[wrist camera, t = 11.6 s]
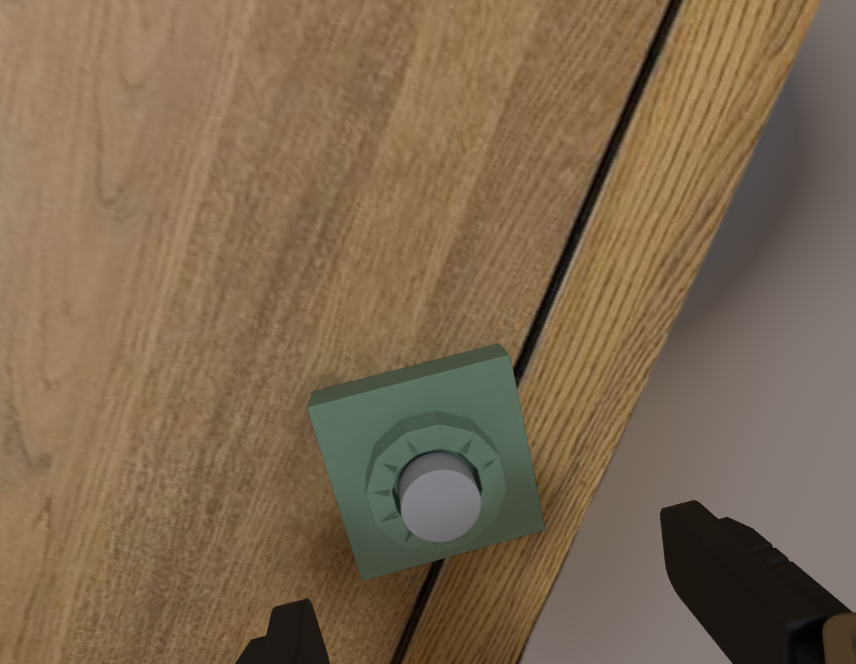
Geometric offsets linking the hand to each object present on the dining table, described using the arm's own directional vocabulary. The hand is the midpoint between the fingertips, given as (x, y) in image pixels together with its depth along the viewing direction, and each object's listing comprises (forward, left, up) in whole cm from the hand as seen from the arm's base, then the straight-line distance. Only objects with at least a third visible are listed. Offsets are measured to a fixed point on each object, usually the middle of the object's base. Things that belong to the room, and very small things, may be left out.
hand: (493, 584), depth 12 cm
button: (+1, +5, -13) cm, 14 cm away
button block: (+1, +5, -16) cm, 17 cm away
